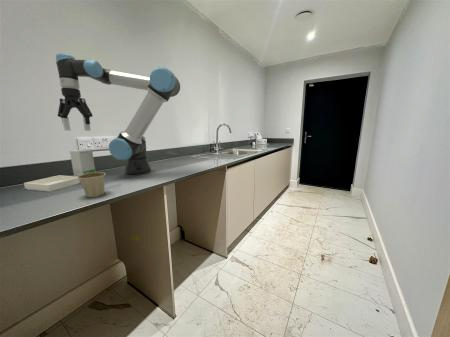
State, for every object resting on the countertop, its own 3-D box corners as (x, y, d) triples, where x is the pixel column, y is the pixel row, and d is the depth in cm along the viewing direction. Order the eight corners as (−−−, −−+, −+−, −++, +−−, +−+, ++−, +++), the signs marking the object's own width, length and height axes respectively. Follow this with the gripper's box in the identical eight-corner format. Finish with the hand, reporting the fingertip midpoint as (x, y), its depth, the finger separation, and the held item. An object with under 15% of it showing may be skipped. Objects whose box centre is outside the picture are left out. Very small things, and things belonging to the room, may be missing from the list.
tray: (82, 182, 93) (81, 176, 92) (49, 191, 79) (48, 185, 78) (60, 180, 96) (59, 175, 95) (25, 189, 82) (23, 183, 81)
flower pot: (87, 201, 69) (83, 179, 67) (76, 196, 74) (73, 175, 72) (112, 193, 77) (110, 174, 75) (102, 189, 81) (99, 171, 80)
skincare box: (83, 179, 98) (78, 151, 95) (73, 178, 99) (68, 150, 96) (96, 175, 106) (92, 149, 103) (87, 175, 107) (83, 149, 104)
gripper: (43, 87, 92) (51, 130, 96) (83, 85, 86) (89, 130, 91) (59, 91, 99) (66, 130, 103) (97, 89, 94) (102, 130, 98)
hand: (77, 130), depth 97 cm, fingers open, 13 cm apart
